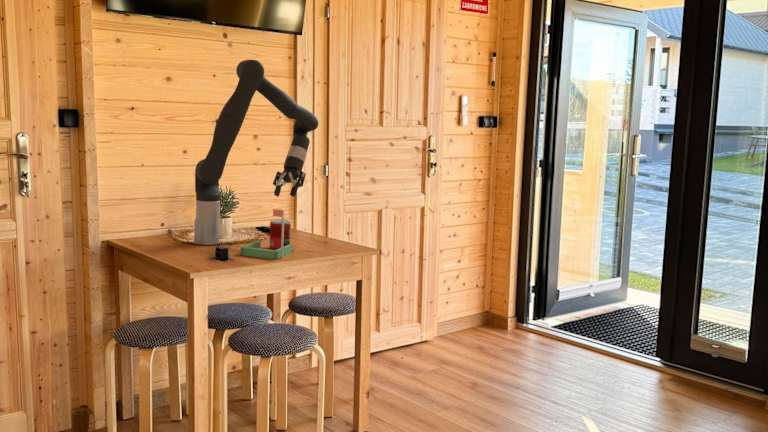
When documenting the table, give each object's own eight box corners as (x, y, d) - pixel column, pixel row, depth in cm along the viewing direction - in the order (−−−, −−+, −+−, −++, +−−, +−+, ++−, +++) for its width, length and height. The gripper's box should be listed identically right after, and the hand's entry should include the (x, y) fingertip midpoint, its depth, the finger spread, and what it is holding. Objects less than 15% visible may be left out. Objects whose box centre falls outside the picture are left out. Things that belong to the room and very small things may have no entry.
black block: (203, 257, 260) (204, 245, 259) (221, 255, 265) (221, 243, 264) (222, 264, 251) (223, 251, 250) (240, 261, 256) (240, 249, 256)
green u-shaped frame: (240, 255, 264) (241, 207, 262) (257, 248, 278) (258, 202, 275) (279, 259, 260) (281, 211, 257) (295, 252, 274) (297, 206, 271)
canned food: (286, 251, 276) (286, 223, 274) (266, 249, 277) (267, 221, 276) (292, 247, 283) (293, 220, 282) (273, 245, 285) (274, 218, 283)
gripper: (276, 155, 290) (265, 192, 285) (303, 154, 282) (291, 191, 277) (288, 163, 296) (277, 199, 291) (314, 163, 288) (303, 199, 283)
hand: (284, 195), depth 284 cm, fingers open, 8 cm apart
